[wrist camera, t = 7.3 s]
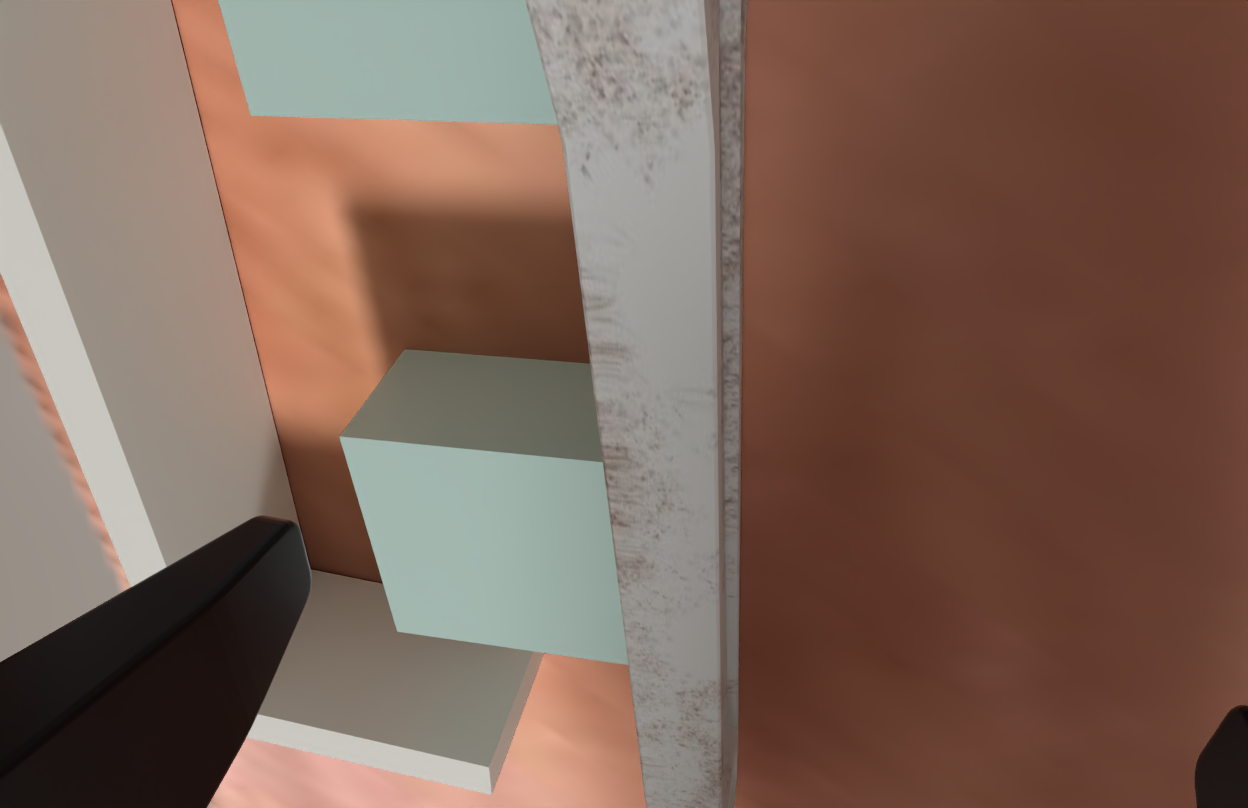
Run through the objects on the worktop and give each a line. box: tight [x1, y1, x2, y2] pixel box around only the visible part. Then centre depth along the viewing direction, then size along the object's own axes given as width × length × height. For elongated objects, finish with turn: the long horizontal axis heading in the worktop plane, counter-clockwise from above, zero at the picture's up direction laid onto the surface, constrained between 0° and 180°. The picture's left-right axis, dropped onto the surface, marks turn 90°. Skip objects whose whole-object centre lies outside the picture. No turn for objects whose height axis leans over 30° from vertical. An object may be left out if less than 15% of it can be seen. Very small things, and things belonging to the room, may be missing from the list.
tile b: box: [339, 349, 628, 665], centre depth 18 cm, size 5×5×3 cm
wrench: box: [525, 0, 748, 808], centre depth 14 cm, size 8×2×30 cm
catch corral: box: [0, 0, 544, 795], centre depth 15 cm, size 7×23×4 cm, turn 179°
